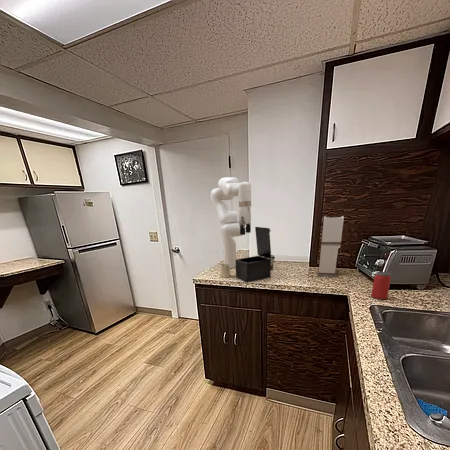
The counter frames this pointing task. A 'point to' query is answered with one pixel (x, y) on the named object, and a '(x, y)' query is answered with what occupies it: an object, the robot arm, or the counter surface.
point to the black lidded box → (253, 268)
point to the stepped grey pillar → (330, 245)
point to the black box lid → (263, 241)
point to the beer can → (381, 285)
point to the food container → (271, 261)
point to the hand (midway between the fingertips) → (245, 233)
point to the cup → (225, 270)
